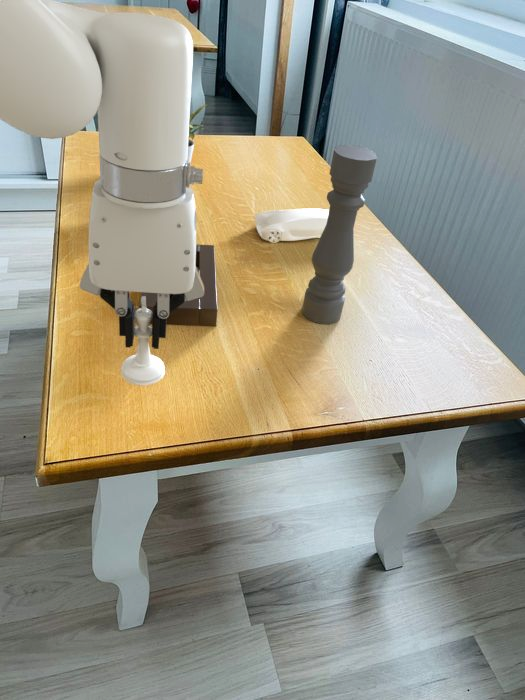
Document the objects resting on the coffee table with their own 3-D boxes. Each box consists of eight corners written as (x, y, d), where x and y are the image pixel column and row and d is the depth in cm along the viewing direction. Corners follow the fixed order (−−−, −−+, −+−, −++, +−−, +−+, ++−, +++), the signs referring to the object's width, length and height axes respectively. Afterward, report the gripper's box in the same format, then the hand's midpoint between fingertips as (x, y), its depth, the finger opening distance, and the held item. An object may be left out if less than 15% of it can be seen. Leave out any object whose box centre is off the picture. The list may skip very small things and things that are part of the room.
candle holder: (301, 299, 89) (330, 141, 73) (339, 304, 89) (376, 147, 74) (302, 321, 84) (333, 157, 69) (342, 326, 84) (382, 163, 69)
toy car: (261, 243, 102) (263, 220, 100) (252, 224, 108) (255, 202, 106) (351, 243, 107) (356, 222, 104) (339, 225, 113) (343, 204, 110)
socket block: (139, 323, 79) (139, 306, 77) (148, 257, 94) (148, 241, 92) (216, 326, 80) (217, 309, 79) (213, 260, 95) (214, 245, 94)
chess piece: (122, 387, 60) (120, 311, 54) (119, 359, 64) (117, 285, 58) (167, 384, 62) (171, 310, 56) (162, 356, 66) (164, 284, 60)
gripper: (231, 169, 53) (215, 324, 65) (58, 152, 51) (73, 316, 62) (235, 201, 48) (217, 365, 59) (40, 183, 45) (60, 359, 56)
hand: (143, 339), depth 60 cm, fingers closed on chess piece
